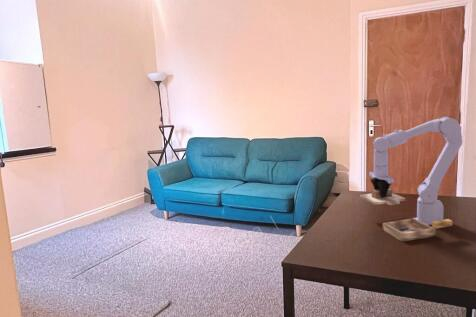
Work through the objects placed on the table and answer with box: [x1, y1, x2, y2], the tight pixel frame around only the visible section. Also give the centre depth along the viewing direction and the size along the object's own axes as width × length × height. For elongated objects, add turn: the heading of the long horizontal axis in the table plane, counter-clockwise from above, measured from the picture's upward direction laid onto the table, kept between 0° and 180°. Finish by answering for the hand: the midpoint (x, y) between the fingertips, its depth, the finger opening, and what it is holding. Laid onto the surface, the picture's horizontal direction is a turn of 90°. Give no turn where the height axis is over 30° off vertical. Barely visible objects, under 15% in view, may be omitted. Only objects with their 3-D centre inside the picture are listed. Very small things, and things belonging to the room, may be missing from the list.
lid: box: [359, 188, 406, 206], centre depth 147 cm, size 14×15×4 cm
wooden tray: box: [382, 217, 436, 242], centre depth 133 cm, size 14×12×3 cm
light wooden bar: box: [431, 218, 453, 229], centre depth 126 cm, size 7×2×2 cm, turn 101°
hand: (380, 195), depth 148 cm, fingers closed on lid, 3 cm apart
